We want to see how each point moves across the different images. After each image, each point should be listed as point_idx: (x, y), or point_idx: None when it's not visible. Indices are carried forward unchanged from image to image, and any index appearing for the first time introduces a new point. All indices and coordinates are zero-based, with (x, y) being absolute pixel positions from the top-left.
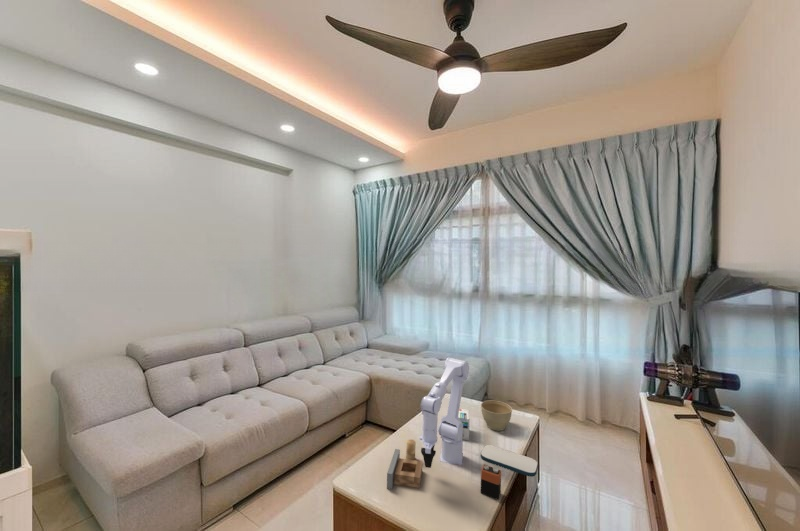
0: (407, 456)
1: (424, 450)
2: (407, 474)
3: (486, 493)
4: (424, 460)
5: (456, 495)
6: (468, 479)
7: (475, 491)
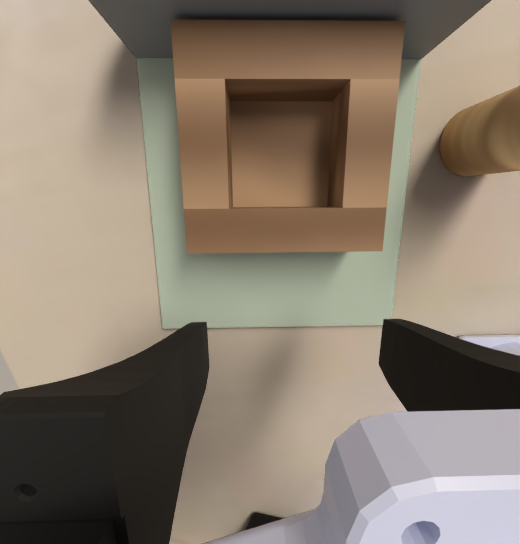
0: (478, 109)
1: (5, 493)
2: (197, 149)
3: None
4: (151, 349)
5: (212, 421)
6: None
7: (260, 492)
